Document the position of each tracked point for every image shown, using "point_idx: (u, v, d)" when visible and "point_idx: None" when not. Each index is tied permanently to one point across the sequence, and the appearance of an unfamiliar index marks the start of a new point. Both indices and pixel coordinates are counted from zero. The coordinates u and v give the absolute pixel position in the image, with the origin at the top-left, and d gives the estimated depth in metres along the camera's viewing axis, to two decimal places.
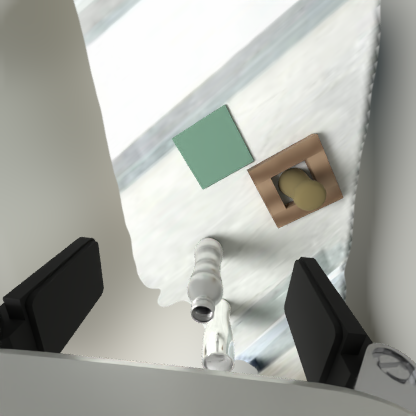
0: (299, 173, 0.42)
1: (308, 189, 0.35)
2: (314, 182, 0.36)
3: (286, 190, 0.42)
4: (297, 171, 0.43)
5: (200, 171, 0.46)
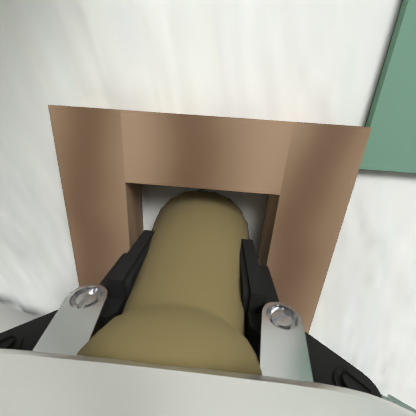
0: None
1: None
2: None
3: (211, 236, 0.09)
4: None
5: None
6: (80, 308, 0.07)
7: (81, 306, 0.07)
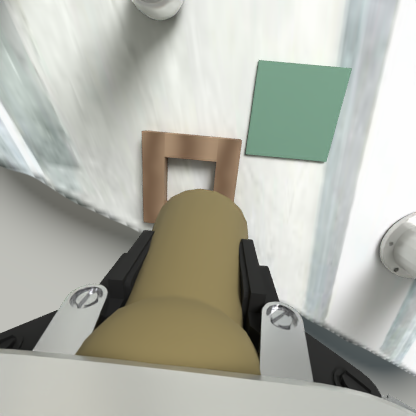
0: None
1: None
2: None
3: (211, 233, 0.09)
4: None
5: (284, 76, 0.29)
6: (80, 308, 0.07)
7: (81, 306, 0.07)
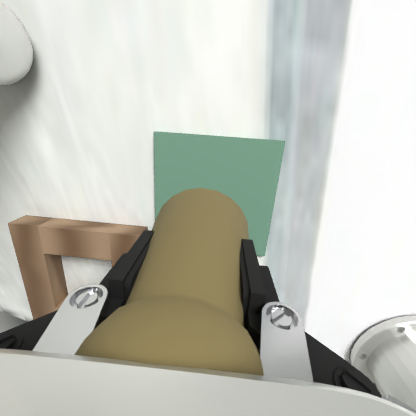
0: None
1: None
2: None
3: (212, 232, 0.09)
4: None
5: (191, 151, 0.21)
6: (80, 308, 0.07)
7: (81, 306, 0.07)
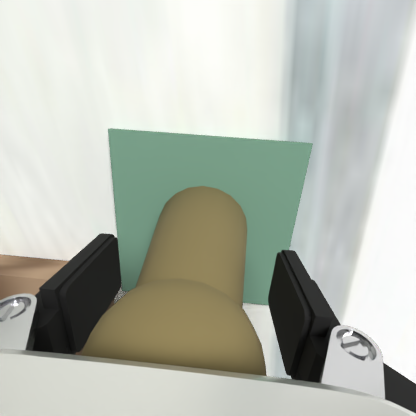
0: None
1: None
2: None
3: (213, 226, 0.10)
4: None
5: (167, 159, 0.14)
6: (6, 320, 0.06)
7: (6, 319, 0.06)
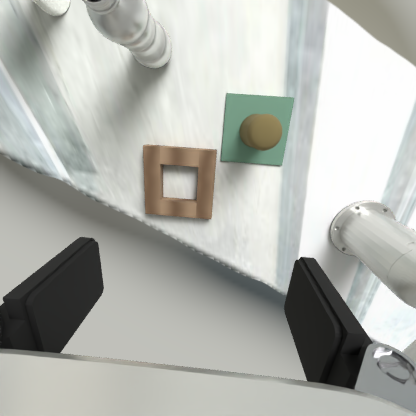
0: None
1: (278, 134, 0.32)
2: None
3: None
4: None
5: (245, 104, 0.40)
6: None
7: None
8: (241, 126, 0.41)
